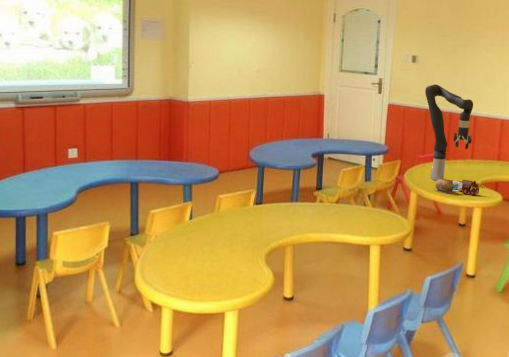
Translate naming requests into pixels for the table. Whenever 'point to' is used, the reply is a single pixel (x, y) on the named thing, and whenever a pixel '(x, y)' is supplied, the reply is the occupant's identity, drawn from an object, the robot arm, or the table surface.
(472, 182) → the toy fire truck
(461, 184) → the frame
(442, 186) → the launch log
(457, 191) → the grey rectangular panel
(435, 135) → the robot arm
